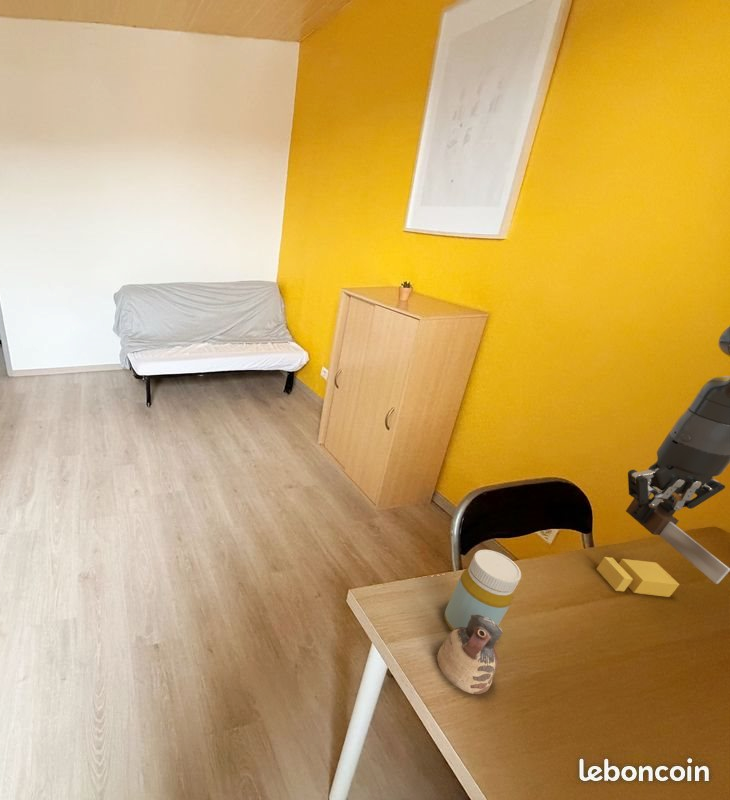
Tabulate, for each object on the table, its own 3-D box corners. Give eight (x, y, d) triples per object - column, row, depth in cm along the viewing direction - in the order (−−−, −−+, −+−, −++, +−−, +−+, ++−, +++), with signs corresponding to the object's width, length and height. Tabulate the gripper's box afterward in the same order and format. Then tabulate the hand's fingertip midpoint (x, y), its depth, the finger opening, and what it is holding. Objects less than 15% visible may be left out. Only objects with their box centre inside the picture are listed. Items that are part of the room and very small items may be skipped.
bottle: (433, 616, 72) (461, 555, 65) (461, 602, 75) (490, 542, 68) (471, 653, 66) (505, 590, 59) (499, 637, 69) (535, 575, 62)
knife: (625, 511, 78) (635, 496, 76) (639, 512, 77) (649, 497, 76) (708, 582, 63) (722, 566, 62) (725, 584, 63) (740, 568, 62)
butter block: (645, 576, 81) (656, 562, 79) (667, 599, 76) (679, 584, 74) (611, 573, 81) (621, 558, 79) (632, 594, 77) (643, 580, 75)
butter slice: (602, 571, 81) (612, 557, 80) (622, 593, 77) (633, 579, 75) (594, 570, 82) (604, 556, 80) (613, 592, 77) (624, 578, 75)
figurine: (497, 679, 63) (528, 629, 57) (473, 706, 59) (504, 656, 54) (450, 640, 68) (474, 591, 63) (426, 663, 65) (449, 614, 59)
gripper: (727, 432, 69) (670, 510, 77) (637, 424, 71) (590, 502, 79) (777, 457, 63) (709, 540, 71) (676, 449, 64) (621, 531, 72)
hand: (646, 520), depth 75 cm, fingers closed on knife, 2 cm apart
